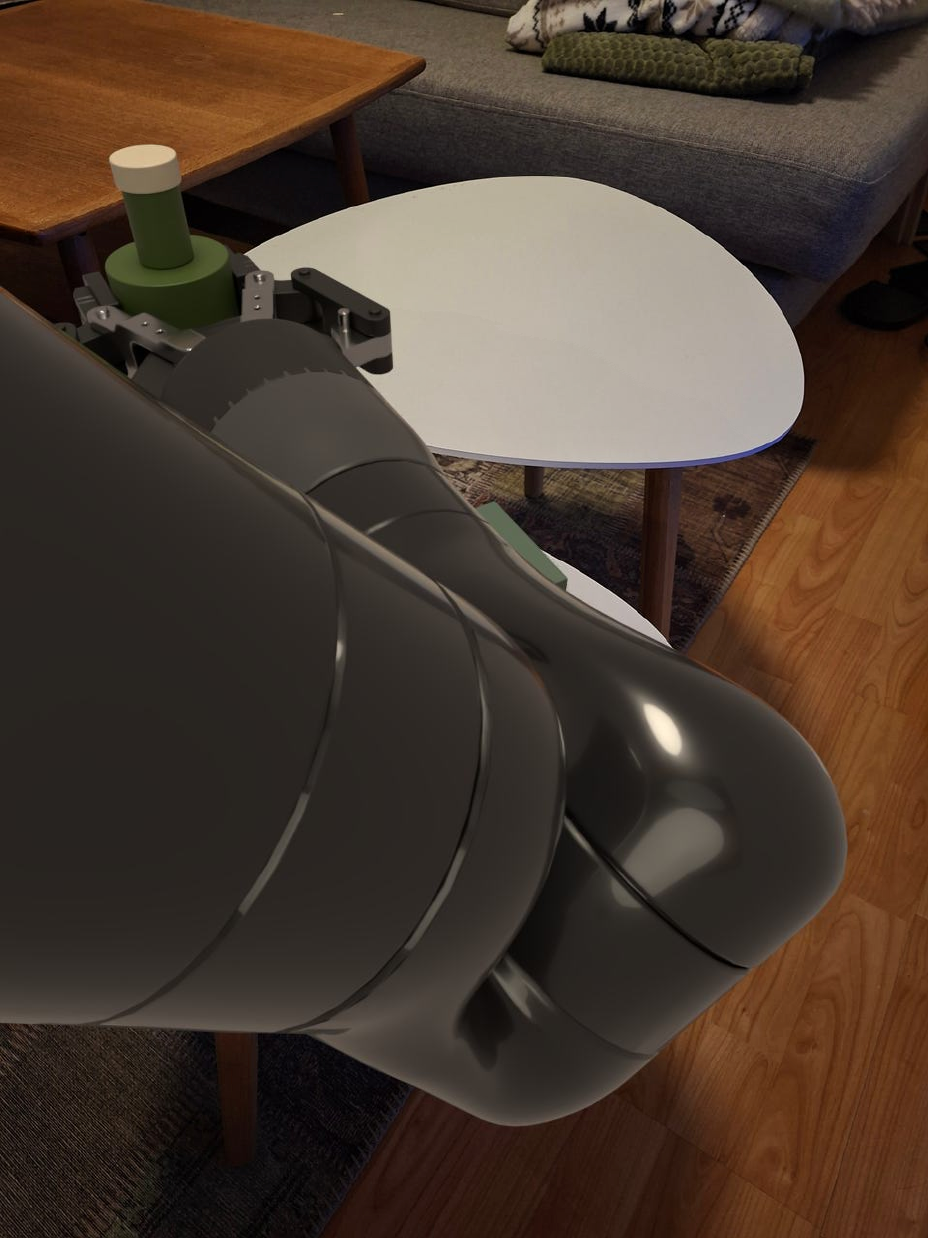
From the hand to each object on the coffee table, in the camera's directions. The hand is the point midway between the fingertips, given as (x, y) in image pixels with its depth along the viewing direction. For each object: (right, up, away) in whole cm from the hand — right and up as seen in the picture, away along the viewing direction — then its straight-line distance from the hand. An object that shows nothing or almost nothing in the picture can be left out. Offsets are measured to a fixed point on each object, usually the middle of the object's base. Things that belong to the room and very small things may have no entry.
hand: (159, 280), depth 40 cm
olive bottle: (+1, -7, +3) cm, 7 cm away
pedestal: (+14, -26, +22) cm, 37 cm away
